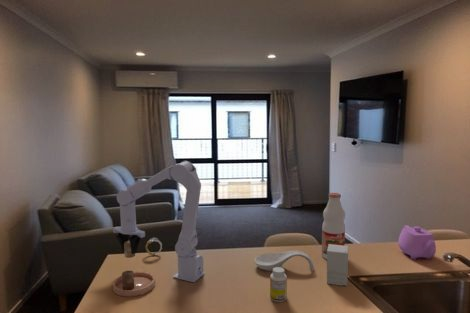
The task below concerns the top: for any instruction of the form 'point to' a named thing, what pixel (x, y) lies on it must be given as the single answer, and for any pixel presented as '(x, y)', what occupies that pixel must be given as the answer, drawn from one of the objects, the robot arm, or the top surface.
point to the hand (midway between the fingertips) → (129, 252)
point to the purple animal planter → (417, 242)
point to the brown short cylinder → (128, 280)
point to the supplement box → (337, 264)
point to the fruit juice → (333, 223)
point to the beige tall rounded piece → (128, 250)
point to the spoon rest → (279, 259)
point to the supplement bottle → (278, 285)
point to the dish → (135, 285)
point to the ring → (151, 242)
